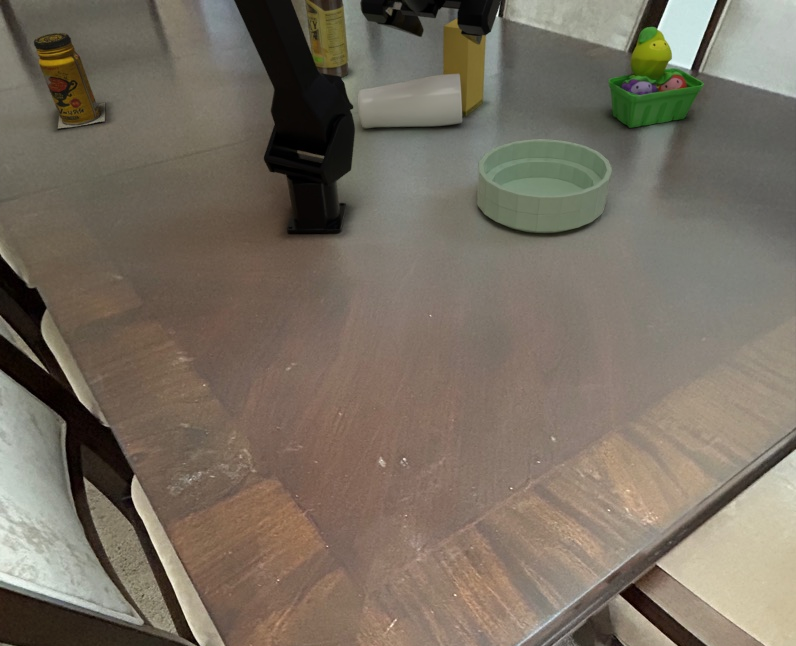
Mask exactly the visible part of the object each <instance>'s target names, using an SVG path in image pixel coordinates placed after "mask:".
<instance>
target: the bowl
mask: <svg viewBox="0 0 796 646" xmlns="http://www.w3.org/2000/svg"><path fill="white" fill-rule="evenodd" d="M477 167H478V168H477V190H476V198H477V200H476V201H477V206H478V208H479V209H480V210H481V211H482V213H483V214H484V215H485V216H486V217H487V218H489V219H491V220H493V222H496V223H498V224H500V225H502V226H504V227H507V228H509V229H513V230H515V231H519V232H525V233H533V234H554V233H555V234H556V233H562V232H567V231H570V230H575V229H578V228H581V227H583V226H586V225H588V224H591V223H592V222H594V221H595V220H596V219H597V218H599V217H600V216H601V215H602V214H603V213H604V210H605V207H606V205H607V202H608V201H607V200H608V196H609V190H610V184H611V180H612V175H613V168H612V165H611V162H610V161H609V159H608V158H606V157H605V155H603V154H602V153H601V152H600V151H598V150H595V149H593V148H591V147H589V146H587V145H584V144H580V143H575V142H573V141H568V140H560V139H559V140H558V139H551V138H550V139H549V138H540V139H539V138H536V139H535V138H533V139H532V138H531V139H524V140H517V141H511V142H507V143H505V144H501V145H499V146H496V147H494V148H492V149H491V150H489V151H488V152H486V153H485V154H483V156H482V157H481V159H480V160H479V162H478V166H477Z"/></svg>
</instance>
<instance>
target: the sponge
mask: <svg viewBox="0 0 796 646" xmlns="http://www.w3.org/2000/svg"><path fill="white" fill-rule="evenodd" d="M442 28H443V31H442V34H443V35H442V36H443V38H442V39H443V40H442V42H443V43H442V46H443V47H442V75H443V74H460V83H461V101H462V117H467V116H468V115H470V114H471V113H473V112H474V111H475V110H476V109H477V108H479V107H481V105H482V104H483V103H484V87H485V86H484V85H485V65H486V64H485V63H486V60H485V59H486V43H487V41H486V40H487V39H486V38H487V35H482V40H481V42H480V44H476V43H474V42H472V41H471V40H469V39H468V38H466V37H465V36H463V35H462V34H461V32H462V30H461V29H460V28H459V26H458V25H457V18H455V19H454V20H452V21H450V22H448V23H446V24H444V25H443V27H442Z"/></svg>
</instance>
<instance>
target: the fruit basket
mask: <svg viewBox="0 0 796 646" xmlns="http://www.w3.org/2000/svg"><path fill="white" fill-rule="evenodd" d="M672 60H673V53H672V49H671V46H670V44H669V43H668V42H667V40H666V39H665V36H664V34H663V32H662V31H661V30H659V29H658V28H657V27H655V26H649V27H645V28H642V30H641V31H640V32H639V35H638V38H637V42H636V46H635V47H634V49H633V51H632V54H631V58H630V69H631V72H632V74H626V75H622V76H621V75H620V76H616V77H612V78H609V79H608V87H609V89H610V98H611V99H610V100H611V108H612V116H613V117H614V118H616V119H617V120H618V121H619V122H621V123H622V124H623V125H625V126H627V127H628V128H629V129H633V128H639V127H641V126H642V127H643V126H650V125H655V124H662V123H668V122H671V121H679V120H680V121H681V120H684V119H685V118H686V117H687V115H688V113H689V111H690V109H691V107H692V105H693V103H694V102H695V100H696V98H697V96H698V94H699V93H700V92H701V91H702V89H703V88H704V85H705V83H704V82H703V81H702V80H700V79H698V78H696V77H695V76H692V75H691V74H689V73H687V72H686V71H684V70H681V69H679V68H673V67H670V68H667V66H668V65H669V62H670V61H672Z"/></svg>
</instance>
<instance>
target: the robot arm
mask: <svg viewBox="0 0 796 646" xmlns="http://www.w3.org/2000/svg"><path fill="white" fill-rule="evenodd" d="M233 2H234V3H235V6H236V8H237V10H238V12H239V14H240V17H241V19H242V21H243V23H244V26H245V28H246V30H247V32H248V34H249V37H250V39H251V42H253V45H254V48H255V49H256V52H257V54H258V56H259V59H260V60H261V63H262V65H263V67H264V69H265V71H266V74H267V76H268V79H269V81H270V83H271V85H272V87H273V94H272V100H271V106H270V115H271V117H272V121H273V128H272V131H271V134H270V137H269V140H268V142H267V146H266V149H265V152H264V155H263V161H264V163H265V165H266V167H267V169H268V171H269V172H270V173H273V174H275V173H276V174H281V175H285V176H286V177H285V178H286V184H287V190H288V196H289V200H290V207H291V214H290V216H289V219H288V222H287V225H286V233H288V234H329V233H331V234H332V233H333V234H335V233H337V234H338V233H341V231H342V228H343V224H344V220H345V216H346V212H347V204H346V203H345V202H340V199H339V191H338V190H339V189H338V180H340V179H341V178H343V177H344V176H345V175H347V174H348V173H350V172H351V171H352V166H353V156H354V147H355V135H356V125H355V120H354V116H353V113H352V111H351V110H354V105H353V103H351V101H350V99H349V96H348V94H347V88H346V85H345V82H344V80H343V79H342V77H340V76H336V75H330V74H324V73H320V72H319V71H318V69H317V67H316V64H315V62H314V59H313V56H312V53H311V47H310V46H309V43H308V41H307V38H306V36H305V33H304V30H303V28H302V24H301V21H300V20H299V17H298V15H297V12H296V9H295V6H294V4H293V0H233ZM501 3H502V0H360V3H359V4H360V11H361V14H362V16H363V17H364V18H365V19H366V21H367V22H371V23H376V24H377V25H381V26H385V27H388V28H391V29H394V30H398V31H401V32H404V33H406V34H410V35H413V36H416V37H419V38H422V37H423V34H424V31H425V30H424V27H423V24H422V21H421V20H420V18H429V19H436V18H437V15H438V12H439V10H441V9H443V8H444V9H451V10H452V9H453V10H457V12H456V13H457V17H456V19H457V25H458V26H459V28H460V29H461V30H462V32H461V34H462V35H463V36H465V37H466V38H468V39H469V40H471V41H472V42H474V43H476V44H480V42H481V40H482V35H486V36H487V35H488V34H490V33H491V32H492V29H493V28H494V24H495V21H496V18H497V15H498V12H499V10H500V6H501ZM300 152H303V153H300ZM304 153H308V154H304ZM309 154H313V155H317V156H321V157H317V156H313V155H309Z"/></svg>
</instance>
